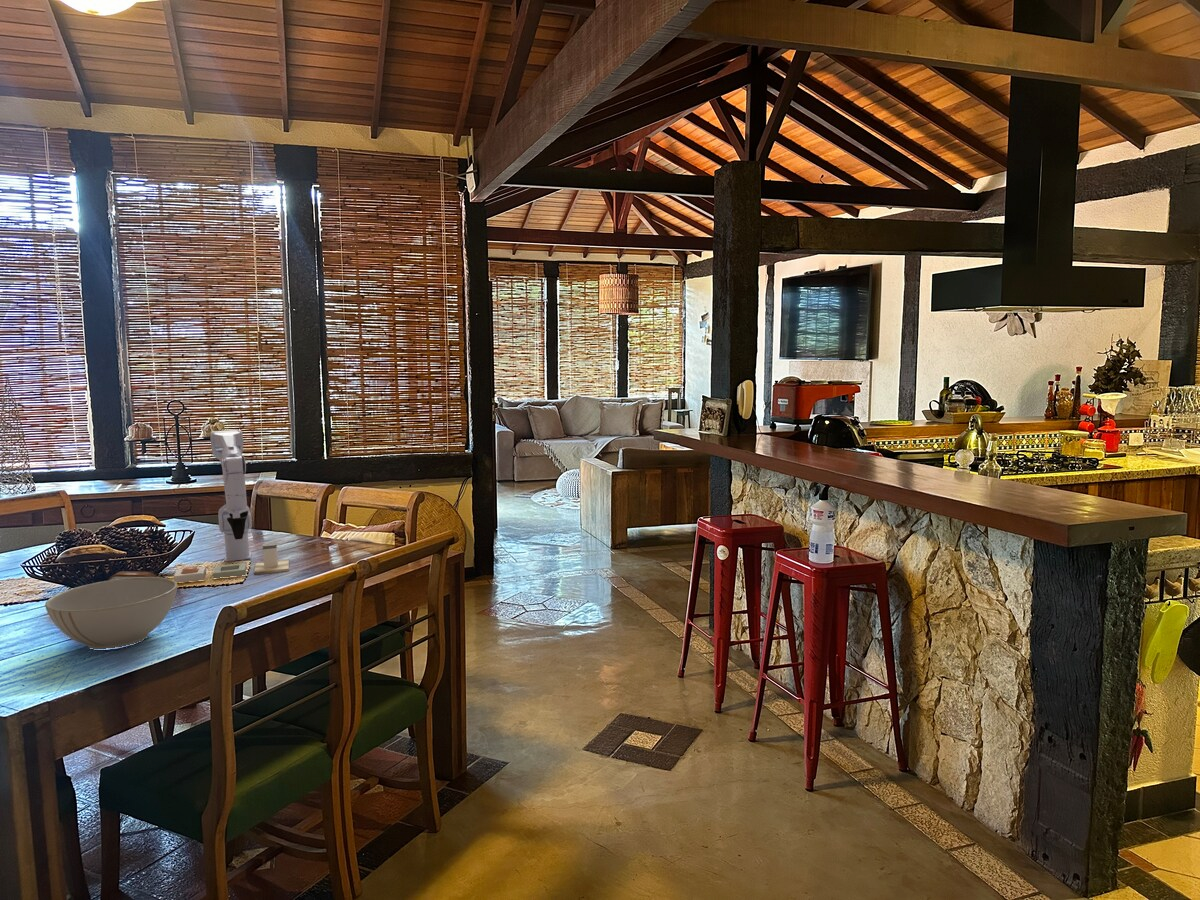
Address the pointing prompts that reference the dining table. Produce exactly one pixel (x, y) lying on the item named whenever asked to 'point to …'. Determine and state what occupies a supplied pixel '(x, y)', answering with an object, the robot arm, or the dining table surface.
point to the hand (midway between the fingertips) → (239, 536)
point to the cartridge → (270, 555)
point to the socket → (230, 570)
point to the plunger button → (189, 570)
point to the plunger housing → (190, 575)
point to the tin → (131, 575)
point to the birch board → (282, 566)
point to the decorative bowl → (112, 610)
